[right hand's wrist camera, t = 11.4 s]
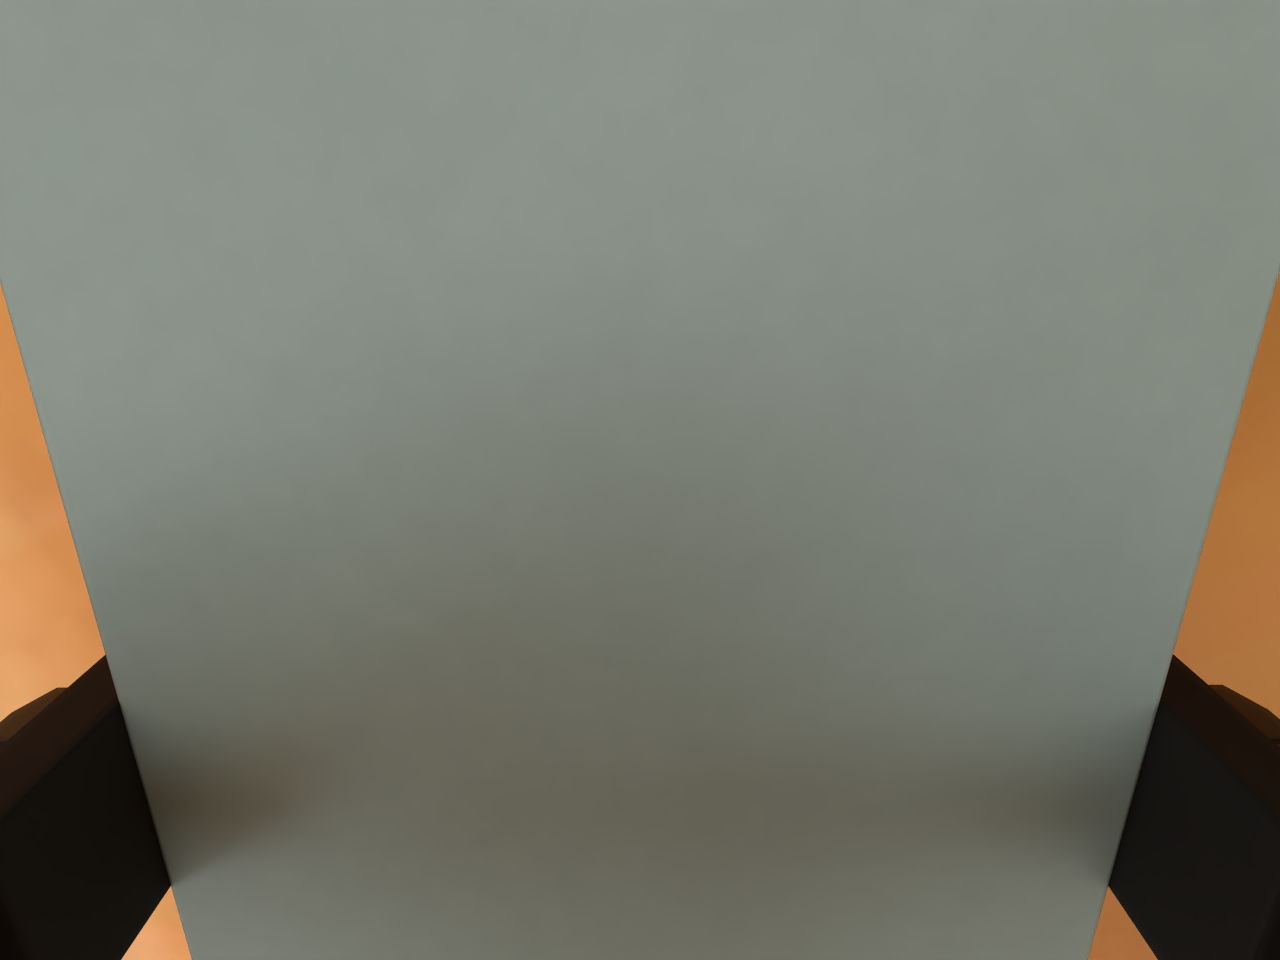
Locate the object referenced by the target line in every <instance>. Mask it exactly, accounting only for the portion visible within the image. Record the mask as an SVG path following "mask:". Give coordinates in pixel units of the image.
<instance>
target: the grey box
mask: <svg viewBox="0 0 1280 960" xmlns="http://www.w3.org/2000/svg"><path fill="white" fill-rule="evenodd" d="M1279 271H1280V0H0V283H1V286H2V290H3V293H4V297H5V300H6V304H7V307H8V311H9V314H10V318H11V321H12V325H13V328H14V332H15V336H16V339H17V343H18V346H19V350H20V353H21V357H22V360H23V364H24V367H25V371H26V374H27V378H28V381H29V385H30V389H31V392H32V396H33V399H34V403H35V406H36V410H37V413H38V417H39V420H40V424H41V427H42V431H43V435H44V438H45V442H46V445H47V449H48V452H49V456H50V459H51V463H52V466H53V470H54V473H55V477H56V480H57V484H58V488H59V491H60V495H61V498H62V502H63V505H64V509H65V512H66V516H67V519H68V523H69V526H70V530H71V534H72V537H73V541H74V544H75V548H76V551H77V555H78V558H79V562H80V565H81V569H82V572H83V576H84V579H85V583H86V587H87V590H88V594H89V597H90V601H91V604H92V608H93V611H94V615H95V618H96V622H97V625H98V629H99V632H100V636H101V640H102V643H103V647H104V650H105V654H106V657H107V661H108V664H109V668H110V671H111V675H112V678H113V682H114V686H115V689H116V693H117V696H118V700H119V703H120V707H121V710H122V714H123V717H124V721H125V724H126V728H127V731H128V735H129V739H130V742H131V746H132V749H133V753H134V756H135V760H136V763H137V767H138V770H139V774H140V777H141V781H142V785H143V788H144V792H145V795H146V799H147V802H148V806H149V809H150V813H151V816H152V820H153V823H154V827H155V830H156V834H157V838H158V841H159V845H160V848H161V852H162V855H163V859H164V862H165V866H166V869H167V873H168V876H169V880H170V883H171V887H172V891H173V894H174V898H175V901H176V905H177V908H178V912H179V915H180V919H181V922H182V926H183V929H184V933H185V937H186V940H187V944H188V947H189V951H190V954H191V958H192V960H1088V956H1089V953H1090V949H1091V946H1092V942H1093V939H1094V935H1095V931H1096V928H1097V924H1098V921H1099V917H1100V913H1101V910H1102V906H1103V903H1104V899H1105V895H1106V892H1107V888H1108V885H1109V881H1110V878H1111V874H1112V870H1113V867H1114V863H1115V860H1116V856H1117V852H1118V849H1119V845H1120V842H1121V838H1122V834H1123V831H1124V827H1125V824H1126V820H1127V817H1128V813H1129V809H1130V806H1131V802H1132V799H1133V795H1134V791H1135V788H1136V784H1137V781H1138V777H1139V773H1140V770H1141V766H1142V763H1143V759H1144V756H1145V752H1146V748H1147V745H1148V741H1149V738H1150V734H1151V730H1152V727H1153V723H1154V720H1155V716H1156V712H1157V709H1158V705H1159V702H1160V698H1161V695H1162V691H1163V687H1164V684H1165V680H1166V677H1167V673H1168V669H1169V666H1170V662H1171V659H1172V655H1173V651H1174V648H1175V644H1176V641H1177V637H1178V634H1179V630H1180V626H1181V623H1182V619H1183V616H1184V612H1185V608H1186V605H1187V601H1188V598H1189V594H1190V590H1191V587H1192V583H1193V580H1194V576H1195V573H1196V569H1197V565H1198V562H1199V558H1200V555H1201V551H1202V547H1203V544H1204V540H1205V537H1206V533H1207V529H1208V526H1209V522H1210V519H1211V515H1212V511H1213V508H1214V504H1215V501H1216V497H1217V494H1218V490H1219V486H1220V483H1221V479H1222V476H1223V472H1224V468H1225V465H1226V461H1227V458H1228V454H1229V450H1230V447H1231V443H1232V440H1233V436H1234V433H1235V429H1236V425H1237V422H1238V418H1239V415H1240V411H1241V407H1242V404H1243V400H1244V397H1245V393H1246V389H1247V386H1248V382H1249V379H1250V375H1251V372H1252V368H1253V364H1254V361H1255V357H1256V354H1257V350H1258V346H1259V343H1260V339H1261V336H1262V332H1263V328H1264V325H1265V321H1266V318H1267V314H1268V311H1269V307H1270V303H1271V300H1272V296H1273V293H1274V289H1275V285H1276V282H1277V278H1278V275H1279Z"/></svg>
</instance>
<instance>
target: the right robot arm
mask: <svg viewBox="0 0 1280 960" xmlns="http://www.w3.org/2000/svg"><path fill="white" fill-rule="evenodd" d="M170 886H171V883H170V880H169V876H168V873H167V869H166V866H165V862H164V859H163V855H162V852H161V848H160V845H159V841H158V838H157V834H156V830H155V827H154V823H153V820H152V816H151V813H150V809H149V806H148V802H147V799H146V795H145V792H144V788H143V785H142V781H141V777H140V774H139V770H138V767H137V763H136V760H135V756H134V753H133V749H132V746H131V742H130V739H129V735H128V731H127V728H126V724H125V721H124V717H123V714H122V710H121V707H120V703H119V700H118V696H117V693H116V689H115V686H114V682H113V678H112V675H111V671H110V668H109V664H108V661H107V657H106V655H105V656H104V657H102V658H101V659H100V660H99V661H98V662H97V663H96V664H94V665H93V666H92V667H91V668H90V669H89V670H87V671H86V672H85V673H84V674H83V675H82V676H81V677H79V678H78V679H77V680H76V681H75V682H74V683H73V684H71V685H70V686H69V687H68V688H56V689H54V690H52V691H50V692H48V693H47V694H45V695H43V696H41V697H39V698H37V699H36V700H34V701H32V702H30V703H28V704H26V705H25V706H23V707H21V708H19V709H17V710H15V711H14V712H12V713H11V714H9V715H8V716H7V717H6V718H5V719H3V720H2V721H1V722H0V960H121V959H122V957H123V956H124V955H125V953H126V952H127V950H128V949H129V947H130V946H131V944H132V943H133V941H134V940H135V938H136V937H137V935H138V934H139V932H140V931H141V929H142V928H143V926H144V925H145V923H146V922H147V920H148V919H149V917H150V916H151V914H152V913H153V911H154V910H155V908H156V907H157V905H158V904H159V902H160V901H161V899H162V898H163V897H164V895H165V894H166V892H167V891H168V889H169V888H170ZM1108 886H1109V887H1110V889H1111V890H1112V892H1113V893H1114V895H1115V896H1116V898H1117V899H1118V901H1119V902H1120V904H1121V905H1122V907H1123V908H1124V910H1125V911H1126V913H1127V914H1128V916H1129V917H1130V919H1131V920H1132V922H1133V923H1134V925H1135V926H1136V928H1137V929H1138V930H1139V932H1140V933H1141V935H1142V936H1143V938H1144V939H1145V941H1146V942H1147V944H1148V945H1149V947H1150V948H1151V950H1152V951H1153V953H1154V954H1155V956H1156V957H1157V959H1158V960H1280V719H1279V718H1277V717H1276V716H1275V715H1274V714H1273V713H1271V712H1270V711H1269V710H1268V709H1266V708H1264V707H1262V706H1260V705H1259V704H1257V703H1255V702H1253V701H1251V700H1249V699H1248V698H1246V697H1244V696H1242V695H1240V694H1238V693H1237V692H1235V691H1233V690H1231V689H1229V688H1227V687H1225V686H1224V685H1208V684H1207V683H1205V682H1204V681H1203V680H1202V679H1201V678H1200V677H1198V676H1197V675H1196V674H1195V673H1194V672H1193V671H1192V670H1190V669H1189V668H1188V667H1187V666H1186V665H1185V664H1184V663H1182V662H1181V661H1180V660H1179V659H1178V658H1177V657H1176V656H1174V655H1172V659H1171V662H1170V666H1169V669H1168V673H1167V677H1166V680H1165V684H1164V687H1163V691H1162V695H1161V698H1160V702H1159V705H1158V709H1157V712H1156V716H1155V720H1154V723H1153V727H1152V730H1151V734H1150V738H1149V741H1148V745H1147V748H1146V752H1145V756H1144V759H1143V763H1142V766H1141V770H1140V773H1139V777H1138V781H1137V784H1136V788H1135V791H1134V795H1133V799H1132V802H1131V806H1130V809H1129V813H1128V817H1127V820H1126V824H1125V827H1124V831H1123V834H1122V838H1121V842H1120V845H1119V849H1118V852H1117V856H1116V860H1115V863H1114V867H1113V870H1112V874H1111V878H1110V881H1109V885H1108Z"/></svg>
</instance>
